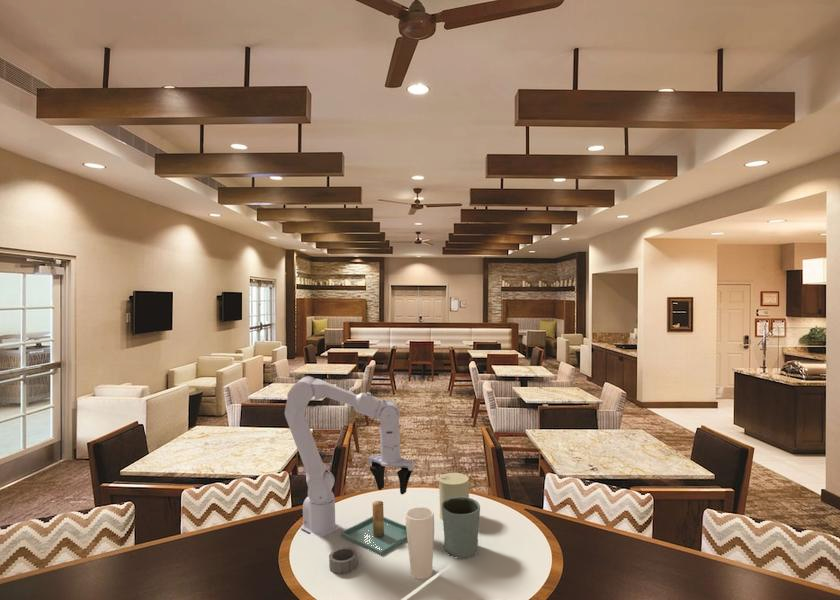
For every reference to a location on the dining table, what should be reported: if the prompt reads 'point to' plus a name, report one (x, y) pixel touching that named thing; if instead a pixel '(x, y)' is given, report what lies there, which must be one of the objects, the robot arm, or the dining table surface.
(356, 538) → the tray
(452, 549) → the green cup
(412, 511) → the drinking glass
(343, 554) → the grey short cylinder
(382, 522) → the pin
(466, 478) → the can
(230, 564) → the dining table surface
